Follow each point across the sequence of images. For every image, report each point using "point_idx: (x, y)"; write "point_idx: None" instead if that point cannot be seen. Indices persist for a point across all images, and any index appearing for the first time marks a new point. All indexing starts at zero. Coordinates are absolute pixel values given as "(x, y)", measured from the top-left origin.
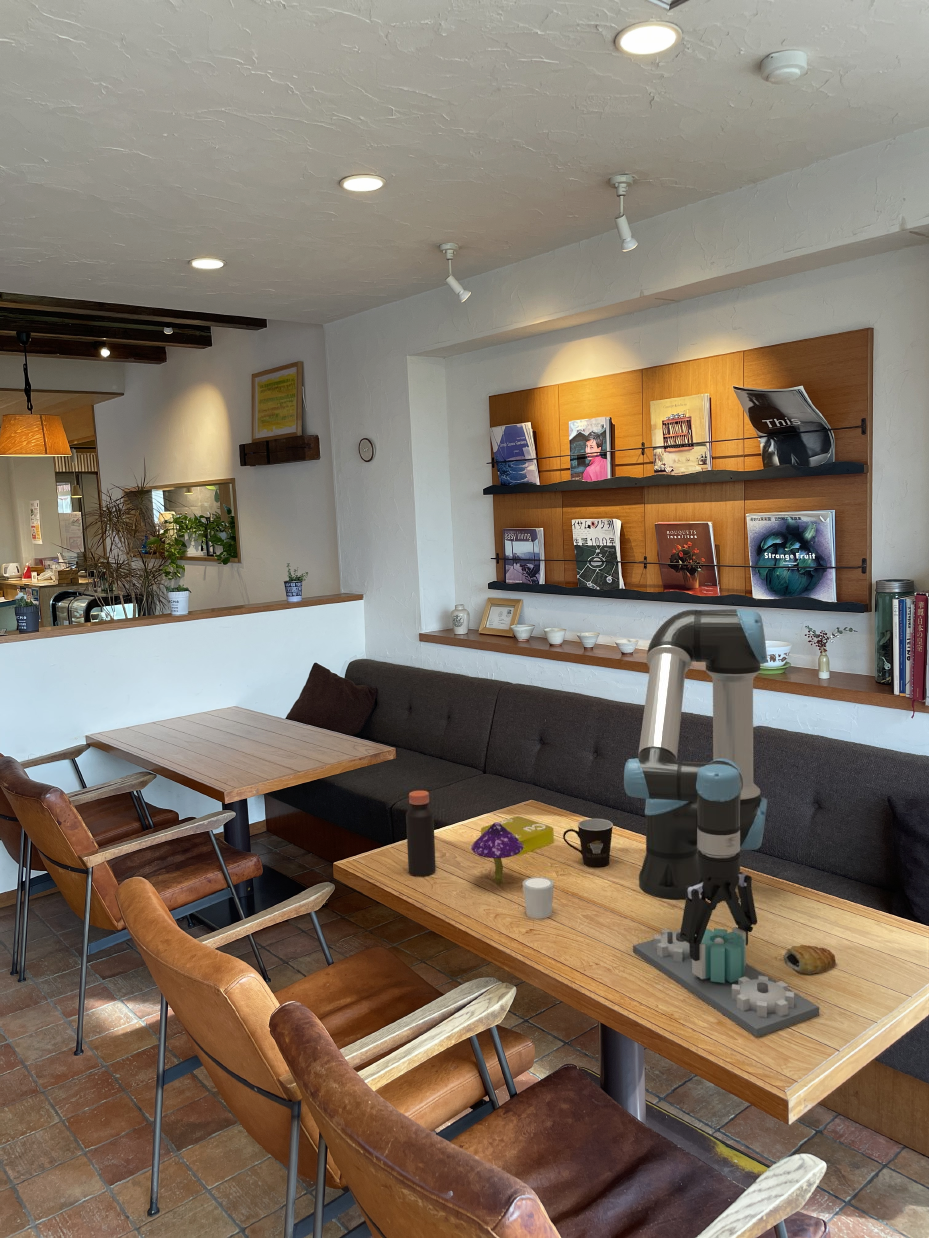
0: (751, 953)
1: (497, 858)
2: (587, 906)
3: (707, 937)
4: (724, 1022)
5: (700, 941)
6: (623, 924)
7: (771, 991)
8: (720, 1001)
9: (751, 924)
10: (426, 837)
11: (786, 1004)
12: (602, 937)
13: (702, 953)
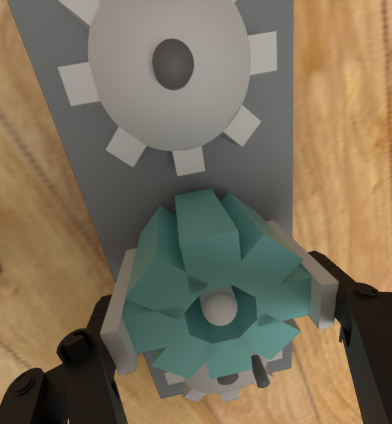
0: (67, 316)
1: None
2: None
3: (251, 333)
4: (302, 59)
5: (356, 292)
6: (243, 420)
7: (145, 47)
8: (281, 122)
9: (49, 373)
10: None
11: None
12: (296, 394)
13: (312, 260)
